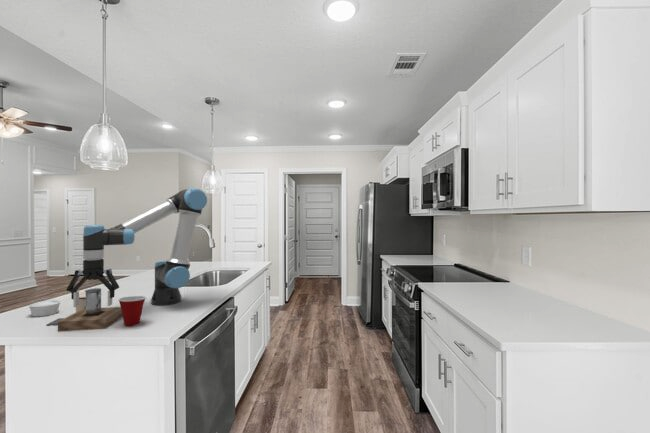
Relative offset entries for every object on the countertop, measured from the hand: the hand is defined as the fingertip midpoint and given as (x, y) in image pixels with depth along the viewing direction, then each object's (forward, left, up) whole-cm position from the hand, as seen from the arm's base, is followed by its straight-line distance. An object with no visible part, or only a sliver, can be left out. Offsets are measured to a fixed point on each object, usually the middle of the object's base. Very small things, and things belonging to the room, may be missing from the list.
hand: (93, 305), depth 139 cm
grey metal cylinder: (0, 0, -8) cm, 8 cm away
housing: (0, 0, -8) cm, 8 cm away
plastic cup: (-18, +5, -8) cm, 20 cm away
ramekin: (+30, -18, -8) cm, 36 cm away
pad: (+14, -3, -8) cm, 16 cm away
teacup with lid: (+10, -17, -8) cm, 21 cm away
